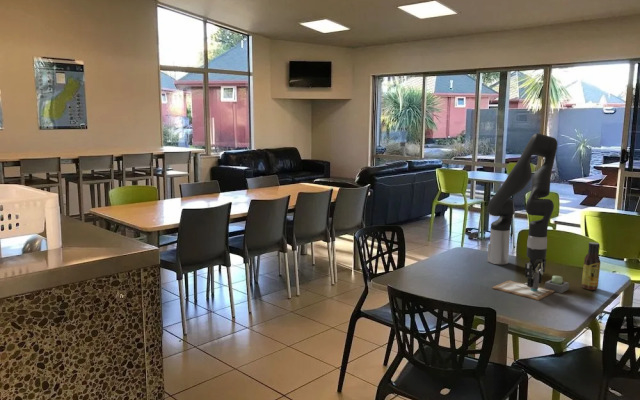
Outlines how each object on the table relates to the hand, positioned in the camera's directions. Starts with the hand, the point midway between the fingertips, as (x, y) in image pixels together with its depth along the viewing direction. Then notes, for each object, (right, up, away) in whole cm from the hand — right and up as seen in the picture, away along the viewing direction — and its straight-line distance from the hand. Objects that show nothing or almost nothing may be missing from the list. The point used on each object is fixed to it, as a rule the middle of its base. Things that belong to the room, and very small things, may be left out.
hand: (534, 284), depth 216 cm
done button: (+11, -1, +4) cm, 12 cm away
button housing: (+11, -3, +4) cm, 12 cm away
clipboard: (-4, -3, +2) cm, 5 cm away
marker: (0, -2, 0) cm, 2 cm away
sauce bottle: (+26, -3, +5) cm, 27 cm away
